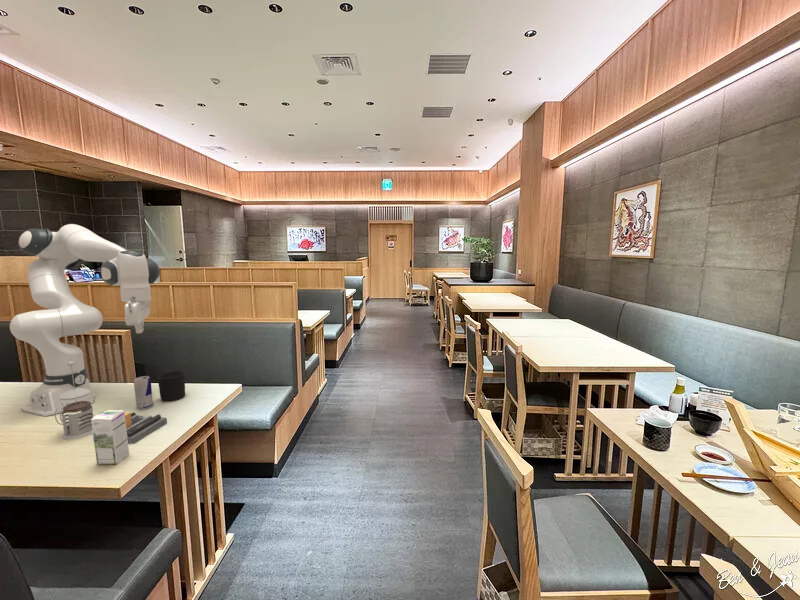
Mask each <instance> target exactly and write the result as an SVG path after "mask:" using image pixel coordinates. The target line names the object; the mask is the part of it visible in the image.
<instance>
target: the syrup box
mask: <svg viewBox="0 0 800 600" xmlns="http://www.w3.org/2000/svg"><path fill="white" fill-rule="evenodd" d="M124 412H125V410H121V409H120V410H119V409H118V410H116V409H115V410H113V409H112V410H108V409H107V410H103V411H101V412H99V413H97V414H96V415H95V416H93V418H92V419H91V423H92V431H93V433H92V436H93V437H92V438H93V445H94V451H95V458H96V465H118V464H119V463H120V462H121V461H123V459H125V458H127V456H129V454H130V448H129V443H128V439H127V431H126V421H125V413H124Z"/></svg>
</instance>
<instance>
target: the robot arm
mask: <svg viewBox="0 0 800 600" xmlns="http://www.w3.org/2000/svg"><path fill="white" fill-rule="evenodd" d="M17 245H18V248H19V250H20V251H21V252H23V253H25V254H27V255H30V256H35V257H38V258H37V259H34V260H32V261H31V262H30V263H29V264H28V265H27V266H28V268H27V280H28V281H27V282H28V287H29V290H30V294H31V298H32V300H33V302H34V303H35V304H37V305H38V306H40V307H42V308H45V309H39V310H31V311H27V312H23V313H19V314H16V315H14V317H12V319H11V321H10V322H9V330H10V333H11V334H12V336H13V337H15V338H16V339H17V340H20V341H23V342H25V343H28V344H29V345H31V346H32V347H34V348H35V349H36V350H37V351H38V352H39V354H40V355H41V357H42V360H43V363H44V368H45V374H42V375H41V378H40V379H42V380H43V381H42V384H40V385H39V386H38V387H37V388H36V389H34V390H33V391H32V392H31V393H30V395H29V403H28V404H25V405H23V407H22V408H21V411H22V412H26V413H30V414H33V415H37V416H38V415H39V416H42V417H50V416H53V415H55V412H56V409H57V407H58V406H59V405H60V404H61V403H63V406H64V405H65V404H66V403H68V404H71V403H75V402H80V401H89V402H91V403H90V405H92V404H93V402H95V399H94V398H95V397H96V396H95V393H93V391H92V387H91V383H90V379H88V378H87V377H88V370H87V368H86V367H85V360H84V352H83V350H82V349H81V348H80V347H78V346H76V345H73V344H69V343H63V342H61V341H60V339H61V338H62V337H71V336H79V335H85V334H88V333H91V332H94V331H98V330H99V329H100V328H101V327H102V324H103V321H104V319H103V314H102V313H101V311H100V310H99V309H98V308H96V307H94V306H91V305H88V304H85V303H84V302H81V301H80V300H79V299H77V298H76V297H75V296H74V294H73V293H72V291H71V289H70V285H69V283H68V280H67V276H66V273H65V270H66V269H67V270H74V269H75V268H77V267H80V266H81V265H83V264H85V263H86V262H89V263H91V262H95V263H102V262H103V264H102V265H101V266H100V269H99V270H100V272H99V273H100V278H101V280H102V281H103V282H104V283H106V284H107V285H109V286H114V287H115V286H117V287H118V286H120V288H119V289H120V290H119V291H120V299H121V302H123V303H124V302H125V304H124V323H125V325H126V326H128V327H129V326H133V327H134V330H135V333H136V334H142V333H143V332H144V329H145V328H144V323H145V319H146V318H148V317H149V316H150V314H151V300H152V292H151V285H153V284H154V283H155V282H156V281H158V279H159V277H160V276H161V269H160V267H159V265H158V264H157V263H156V262H155V261H154V260H153V259H152V258H146V255H145V254H144V253H143V252H141V251H137V250H130V249H128V248H126V247H124V246H122V245H119V244H117V243H114V242H111V241H109V240H107V239H105V238H103V237H101V236H99V235H98V234H96V233H95V232H93V231H91V230H90V229H88V228H86V227H84V226H83V225H82V226H81V225H79V224H75V223H68V224H65V225H63V226H62V227H60V228H59V230H58V231H51V230H50V229H49V228H29V229H26V230H24V231H23V232H22V233H21V234H20V235H19V238H18V242H17ZM72 361H73V362H75V365H72V370H71V366H67V364H68V362H72ZM72 371H73V378H72ZM73 379H74V385H73ZM74 387H75V389H76V388H84V389H89V390H91V392H90V393H89V394H88V395H86V396H83V397H80V398H76V401H75V399H71V400H61V399H59V398H58V397H59V396H60V395H61V394H63V393H64V392H66V391H69V390H72V389H74ZM66 405H67V404H66ZM63 406H62V404H61V405H60V406H59V407H58V409H57V412H56V415H57V414H60V411H61V409H62V407H63ZM63 411H64V410H63V409H62V412H63ZM62 412H61V414H62Z"/></svg>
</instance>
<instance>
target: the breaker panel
mask: <svg viewBox="0 0 800 600" xmlns="http://www.w3.org/2000/svg"><path fill="white" fill-rule="evenodd" d="M130 413H131V421H132V426H130V427H128V428H127V429H126V431H127V439H128V444H130V445H131V444H132V445H133V444H136V443H137V442H139V441H141V440H142V439H144V438H145V437H147V436H148V435H150V434H151V433H154V432H155V431H156V430H159V428H162V427H163V426H164V425H166V424H168V421H167V420H168V419H167V417H164V416H163V417H162V416H161V414H160V413H159V414H156V415H154V416H153V415H139V414H136V412H130Z"/></svg>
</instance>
